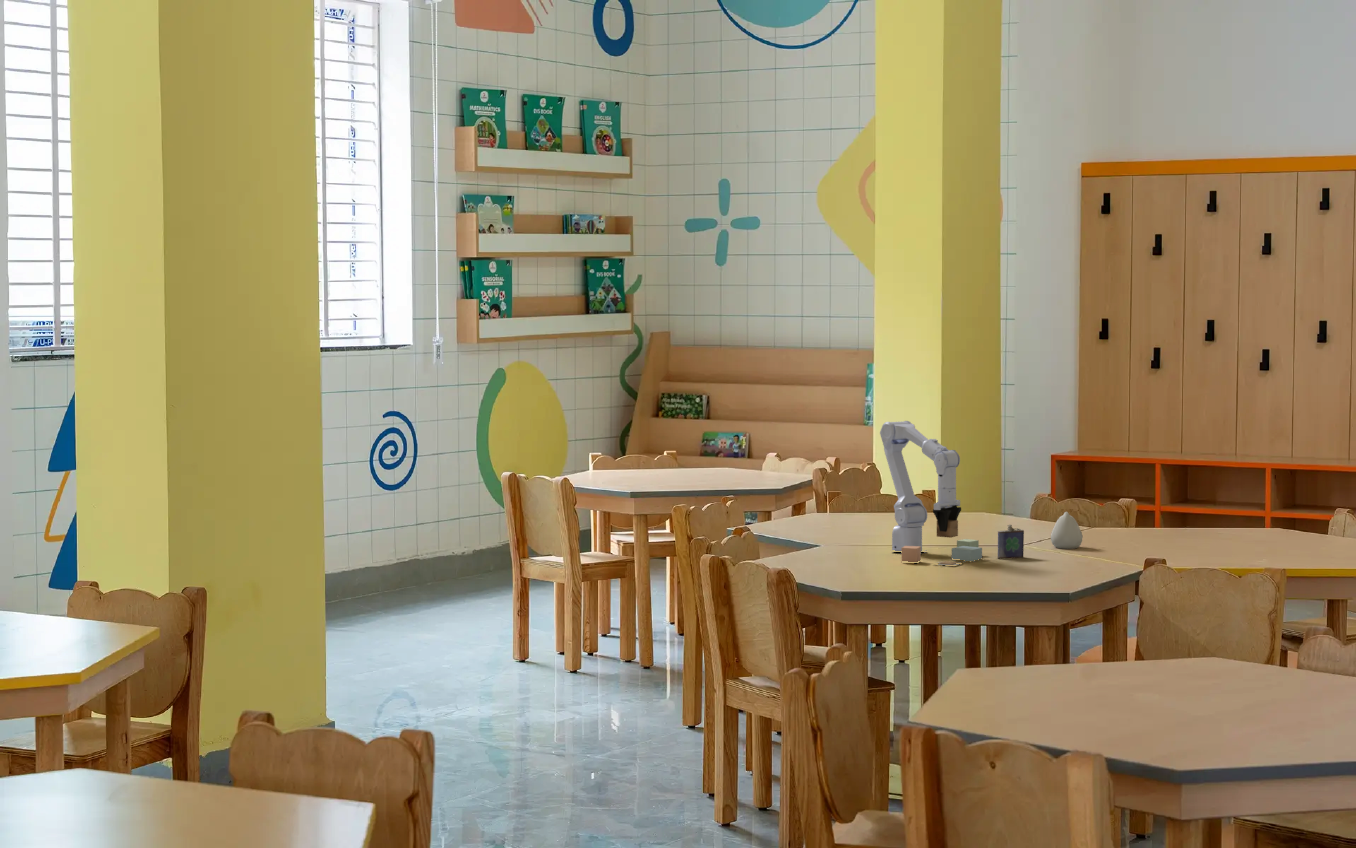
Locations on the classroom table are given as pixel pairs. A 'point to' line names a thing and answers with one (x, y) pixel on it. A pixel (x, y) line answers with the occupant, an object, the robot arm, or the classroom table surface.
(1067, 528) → the grey teardrop shape
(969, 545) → the sage cube
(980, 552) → the base block
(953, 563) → the grey square frame
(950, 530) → the walnut cube
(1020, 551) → the flask
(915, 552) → the terracotta cube
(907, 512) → the robot arm
